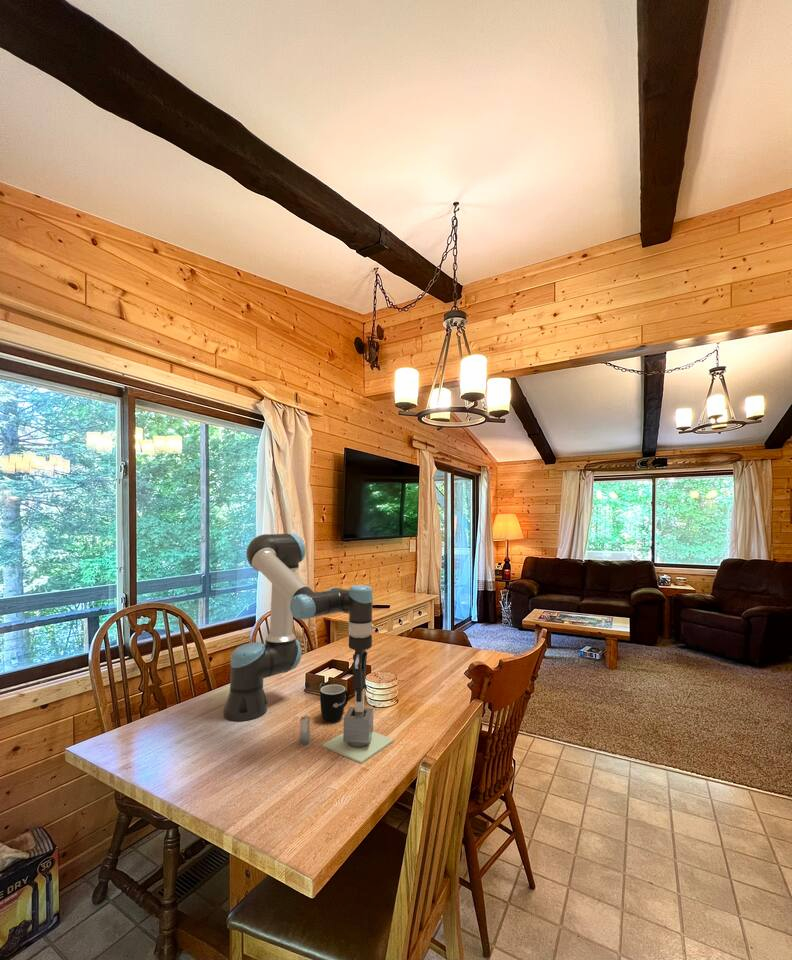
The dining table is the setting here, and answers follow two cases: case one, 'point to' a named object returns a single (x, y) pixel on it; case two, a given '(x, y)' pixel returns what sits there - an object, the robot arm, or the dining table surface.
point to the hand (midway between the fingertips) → (359, 710)
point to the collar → (358, 726)
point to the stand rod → (305, 730)
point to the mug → (333, 702)
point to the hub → (359, 746)
